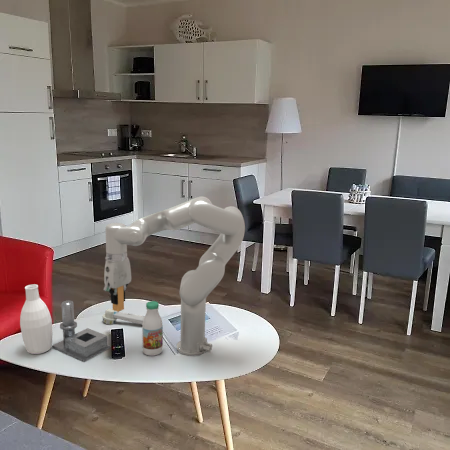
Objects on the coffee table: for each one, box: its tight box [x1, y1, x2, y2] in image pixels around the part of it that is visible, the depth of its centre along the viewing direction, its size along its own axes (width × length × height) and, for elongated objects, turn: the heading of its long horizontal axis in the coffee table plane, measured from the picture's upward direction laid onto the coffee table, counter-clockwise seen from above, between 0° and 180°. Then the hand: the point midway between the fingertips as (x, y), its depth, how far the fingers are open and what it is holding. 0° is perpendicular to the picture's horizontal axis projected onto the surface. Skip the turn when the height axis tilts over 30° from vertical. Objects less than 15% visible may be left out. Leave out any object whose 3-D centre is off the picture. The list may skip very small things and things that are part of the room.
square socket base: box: [51, 299, 111, 363], centre depth 176 cm, size 19×13×17 cm
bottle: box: [19, 283, 54, 355], centre depth 172 cm, size 11×11×25 cm
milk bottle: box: [141, 300, 164, 357], centre depth 175 cm, size 8×8×20 cm
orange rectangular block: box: [111, 286, 125, 312], centre depth 174 cm, size 3×3×12 cm
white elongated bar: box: [101, 308, 145, 325], centre depth 198 cm, size 5×7×25 cm
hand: (118, 301), depth 175 cm, fingers closed on orange rectangular block, 3 cm apart
